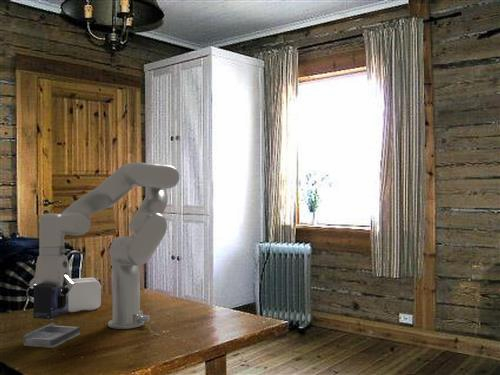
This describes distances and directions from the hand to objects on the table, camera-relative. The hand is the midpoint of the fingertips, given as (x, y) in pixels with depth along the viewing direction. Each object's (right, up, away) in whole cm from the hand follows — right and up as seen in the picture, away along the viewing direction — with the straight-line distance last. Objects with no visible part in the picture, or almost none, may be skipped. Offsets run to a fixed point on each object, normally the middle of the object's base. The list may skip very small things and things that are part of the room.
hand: (51, 306), depth 164 cm
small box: (0, -3, 0) cm, 3 cm away
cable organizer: (-5, -11, +42) cm, 44 cm away
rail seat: (0, -11, 0) cm, 11 cm away
